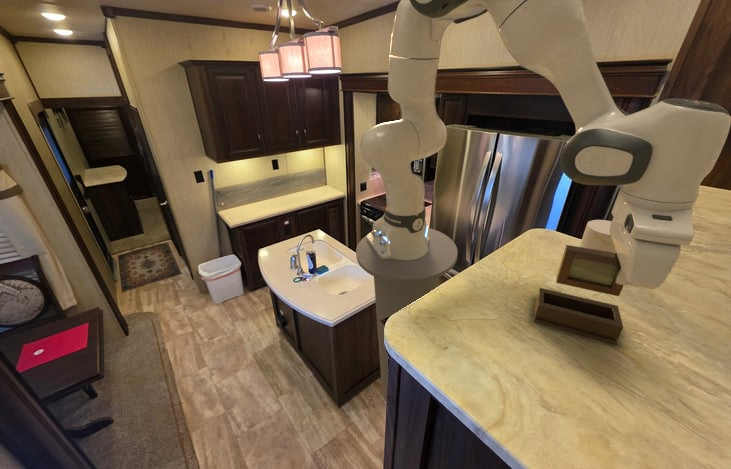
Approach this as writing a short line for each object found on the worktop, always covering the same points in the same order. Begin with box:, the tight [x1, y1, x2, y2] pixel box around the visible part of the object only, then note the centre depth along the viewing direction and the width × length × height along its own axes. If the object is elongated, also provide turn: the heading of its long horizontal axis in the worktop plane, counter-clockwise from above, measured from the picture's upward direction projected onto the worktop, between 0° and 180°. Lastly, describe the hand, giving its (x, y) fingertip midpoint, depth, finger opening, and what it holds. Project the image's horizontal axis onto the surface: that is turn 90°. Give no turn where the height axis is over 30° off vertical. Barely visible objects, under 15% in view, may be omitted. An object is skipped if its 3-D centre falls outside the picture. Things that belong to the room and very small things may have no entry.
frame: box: [555, 244, 625, 297], centre depth 55 cm, size 2×10×8 cm, turn 61°
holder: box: [533, 287, 624, 345], centre depth 60 cm, size 8×14×4 cm, turn 61°
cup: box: [579, 219, 616, 253], centre depth 74 cm, size 8×8×12 cm
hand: (619, 277), depth 53 cm, fingers closed on frame, 2 cm apart
